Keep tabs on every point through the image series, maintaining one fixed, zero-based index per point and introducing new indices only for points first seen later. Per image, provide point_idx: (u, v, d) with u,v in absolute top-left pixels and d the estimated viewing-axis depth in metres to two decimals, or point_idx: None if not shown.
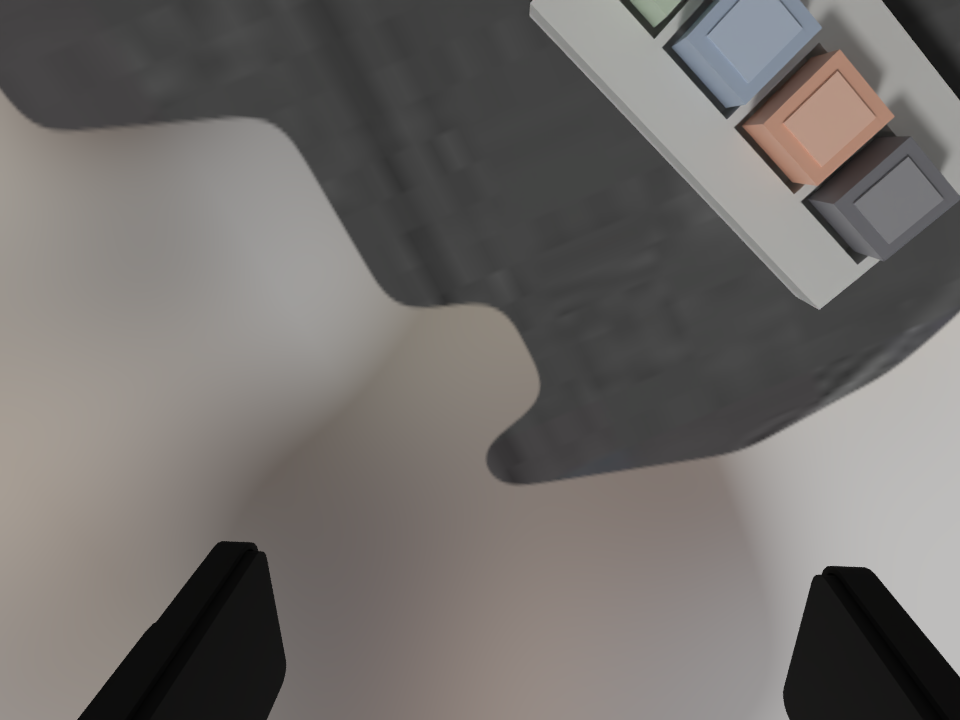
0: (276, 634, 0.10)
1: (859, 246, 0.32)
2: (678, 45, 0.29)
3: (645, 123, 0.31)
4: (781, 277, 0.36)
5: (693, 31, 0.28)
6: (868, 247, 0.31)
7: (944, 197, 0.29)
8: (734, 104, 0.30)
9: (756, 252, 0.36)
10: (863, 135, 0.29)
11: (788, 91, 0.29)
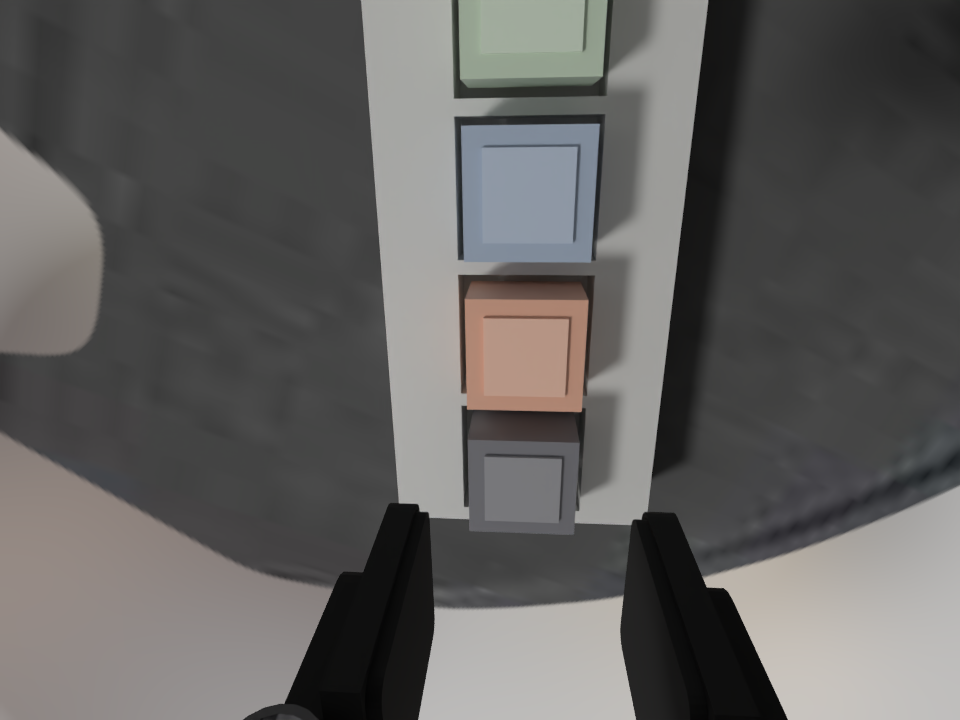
0: (431, 590, 0.11)
1: None
2: None
3: (376, 178, 0.22)
4: None
5: (473, 127, 0.19)
6: None
7: (561, 521, 0.24)
8: None
9: None
10: (542, 402, 0.22)
11: (522, 292, 0.22)
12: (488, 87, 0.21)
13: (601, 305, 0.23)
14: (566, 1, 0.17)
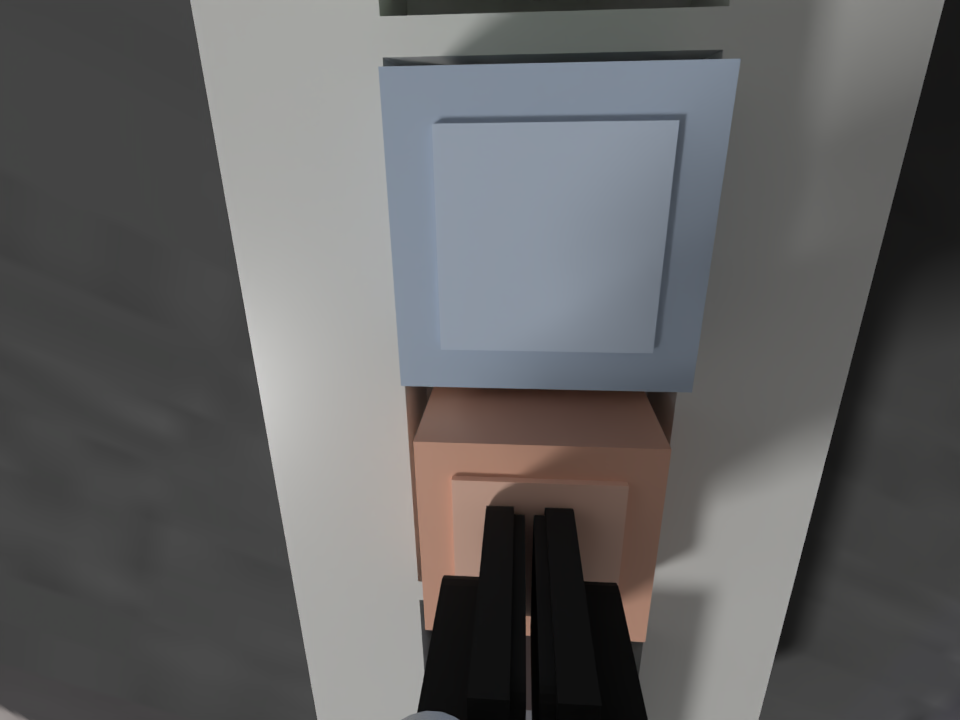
0: None
1: None
2: None
3: (228, 192, 0.10)
4: None
5: (410, 72, 0.07)
6: None
7: None
8: None
9: None
10: None
11: (532, 415, 0.11)
12: None
13: (686, 442, 0.12)
14: None
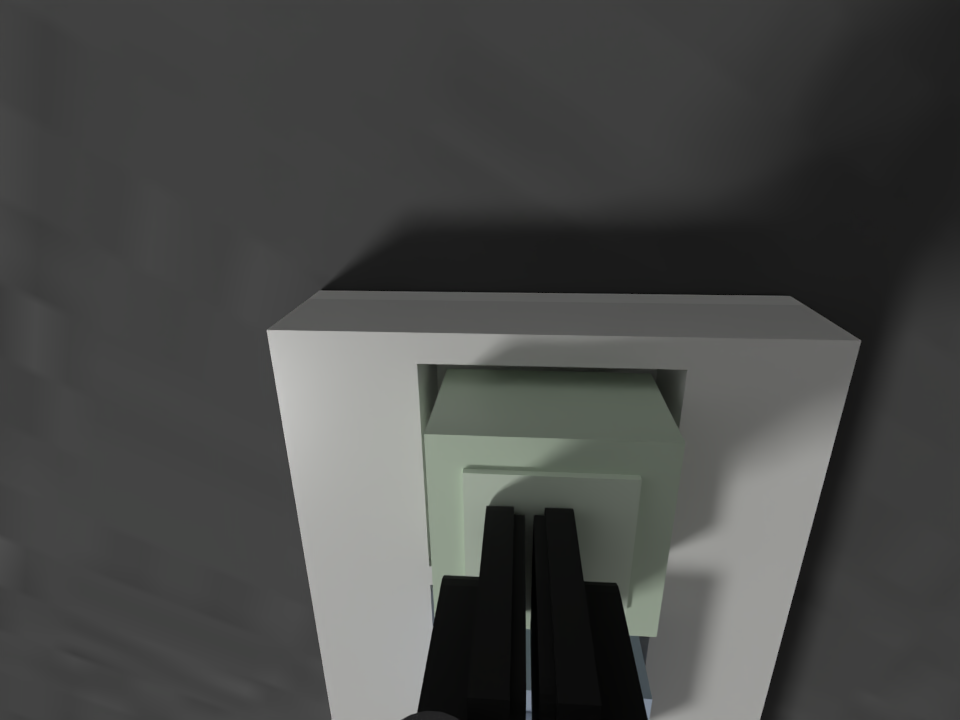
0: None
1: None
2: None
3: (321, 639, 0.15)
4: None
5: None
6: None
7: None
8: None
9: None
10: None
11: None
12: None
13: None
14: (602, 561, 0.10)
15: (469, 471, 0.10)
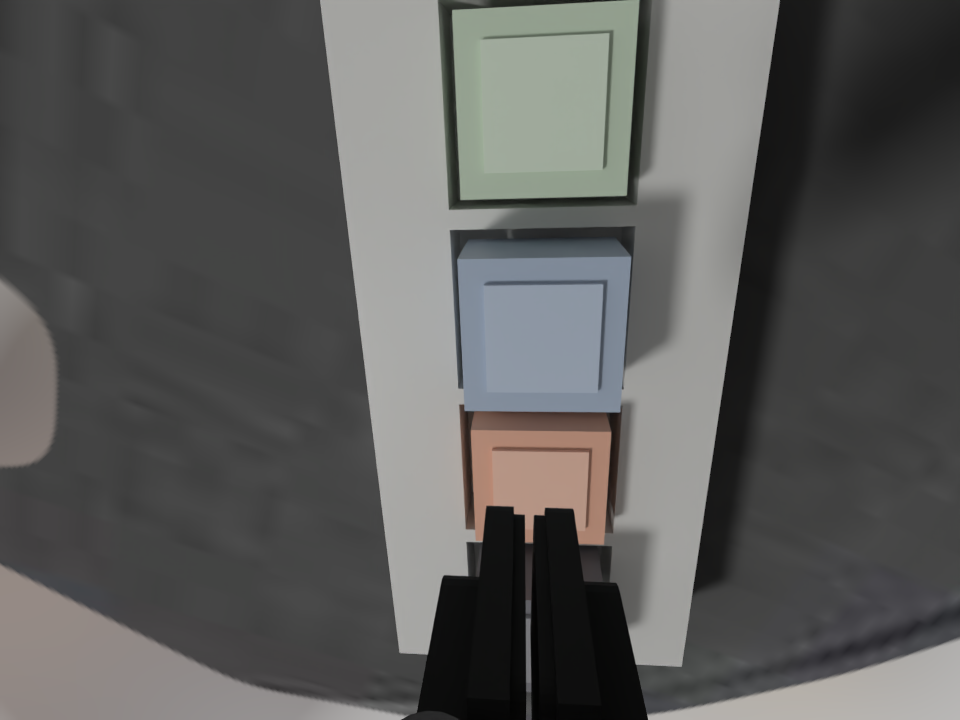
0: None
1: None
2: (464, 250, 0.17)
3: (358, 299, 0.18)
4: None
5: (472, 261, 0.15)
6: None
7: None
8: None
9: None
10: None
11: (536, 414, 0.19)
12: None
13: (630, 438, 0.19)
14: (583, 115, 0.14)
15: (485, 43, 0.14)
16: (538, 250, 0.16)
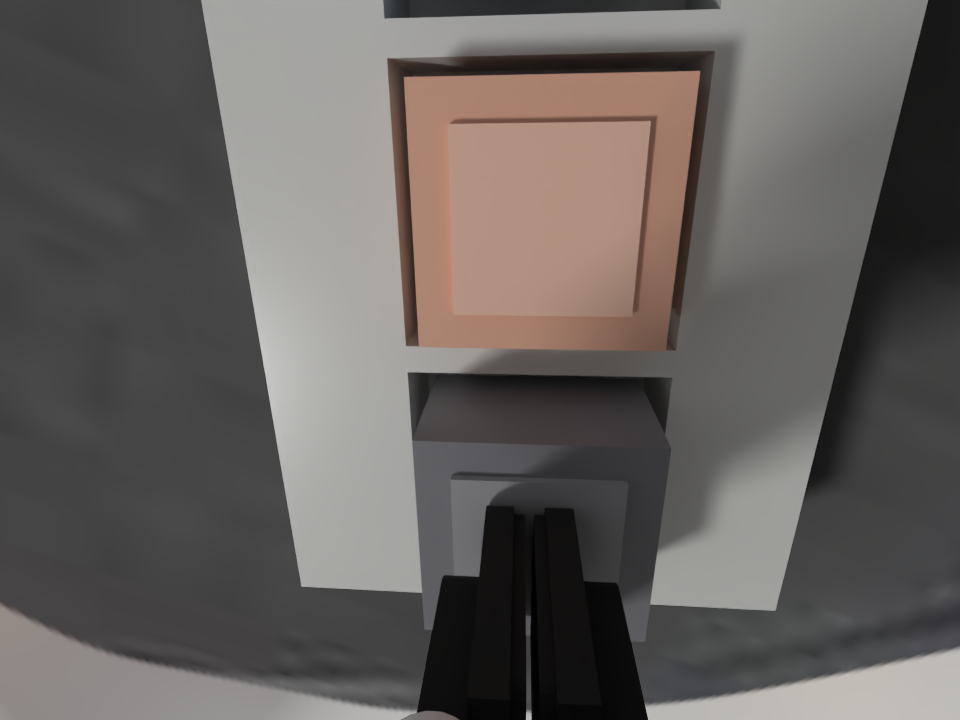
0: None
1: None
2: None
3: None
4: None
5: None
6: None
7: None
8: None
9: None
10: (582, 330, 0.10)
11: None
12: None
13: (724, 132, 0.10)
14: None
15: None
16: None
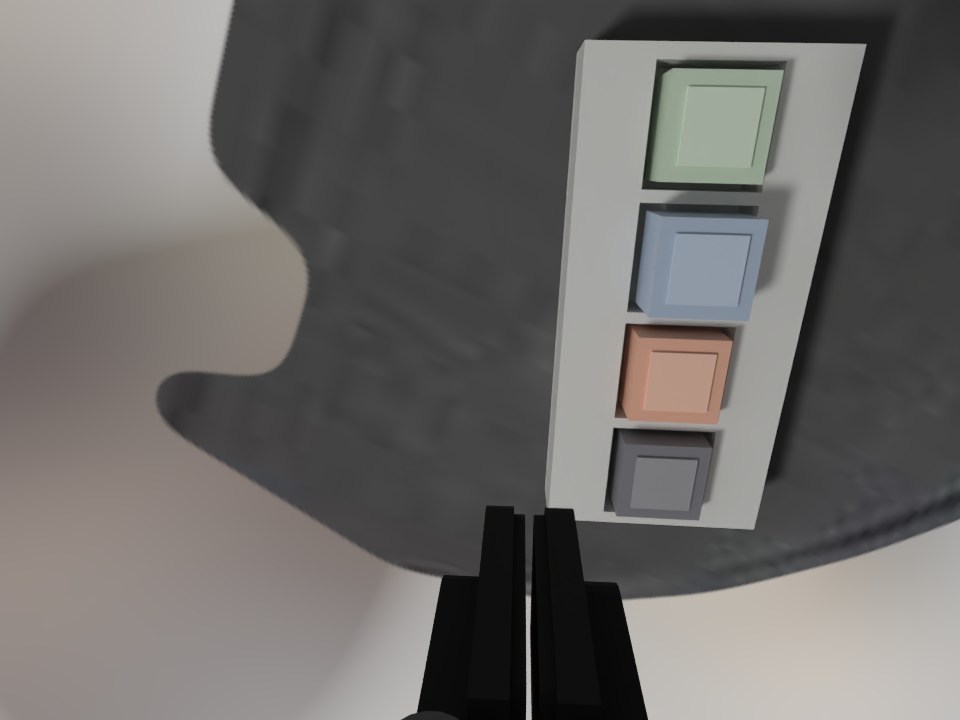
0: None
1: (613, 488, 0.32)
2: (651, 215, 0.26)
3: (570, 246, 0.27)
4: (548, 466, 0.34)
5: (671, 218, 0.24)
6: (616, 496, 0.31)
7: (690, 509, 0.31)
8: (642, 307, 0.27)
9: (550, 430, 0.33)
10: (688, 416, 0.29)
11: (676, 332, 0.29)
12: None
13: (738, 351, 0.29)
14: (743, 134, 0.24)
15: (689, 88, 0.24)
16: (705, 215, 0.25)
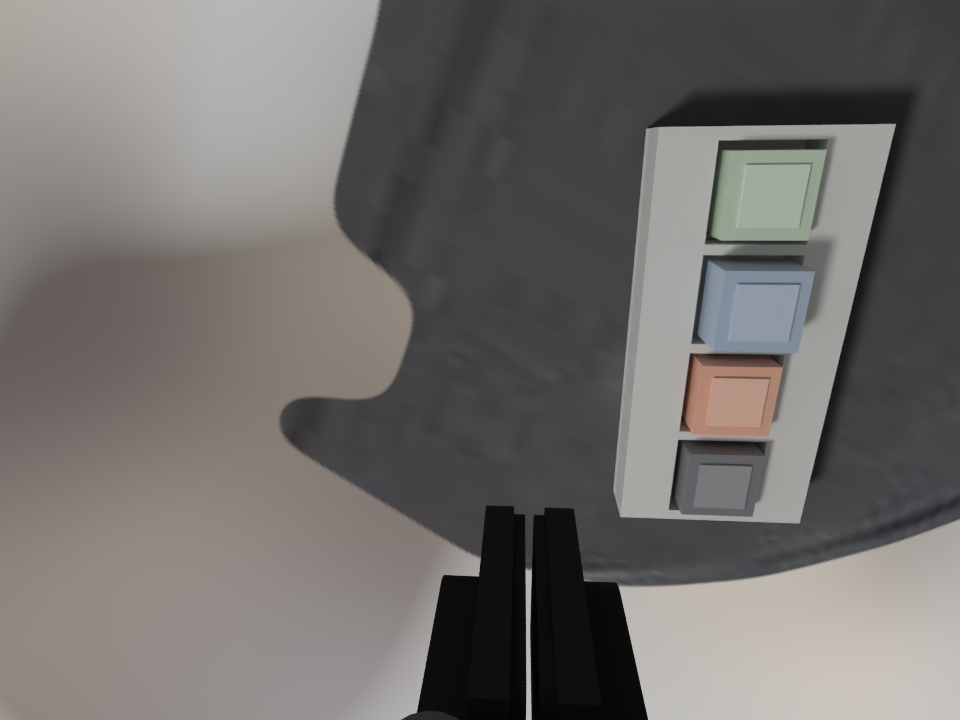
0: None
1: (676, 490, 0.38)
2: (713, 266, 0.31)
3: (643, 292, 0.33)
4: (618, 472, 0.39)
5: (733, 272, 0.29)
6: (681, 497, 0.37)
7: (745, 508, 0.36)
8: (706, 341, 0.32)
9: (620, 441, 0.39)
10: (744, 430, 0.34)
11: (733, 359, 0.34)
12: None
13: (786, 374, 0.34)
14: (793, 201, 0.29)
15: (747, 166, 0.29)
16: (760, 267, 0.30)
